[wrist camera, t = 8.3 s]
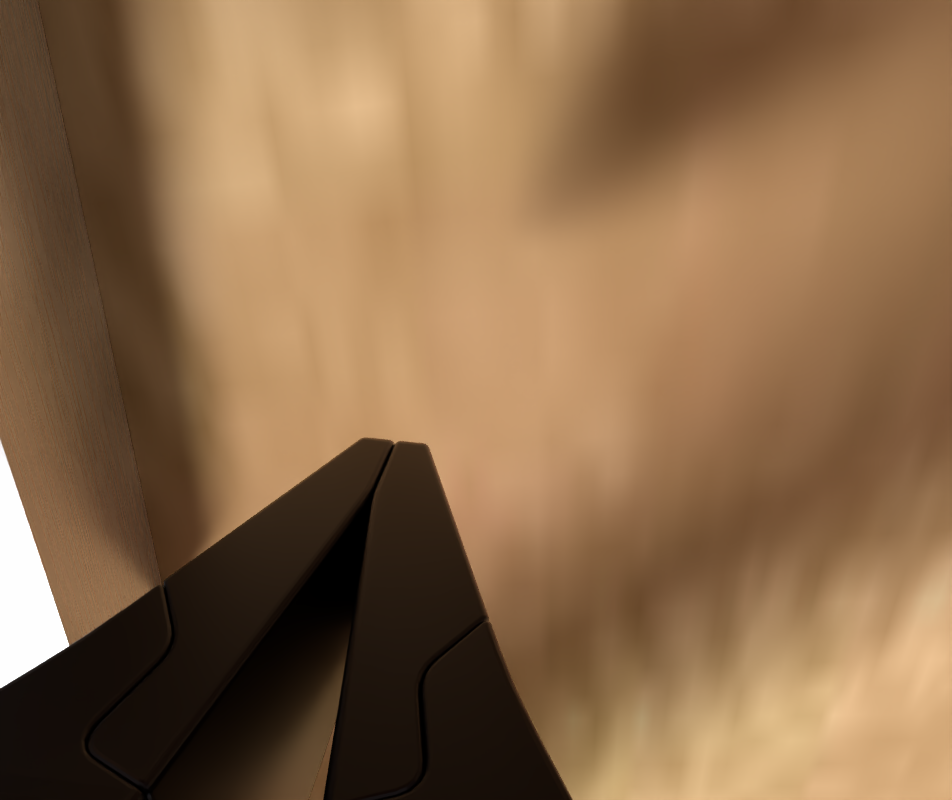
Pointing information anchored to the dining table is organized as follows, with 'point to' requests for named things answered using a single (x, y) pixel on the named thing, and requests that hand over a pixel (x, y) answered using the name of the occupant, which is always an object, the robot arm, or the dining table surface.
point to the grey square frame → (56, 386)
